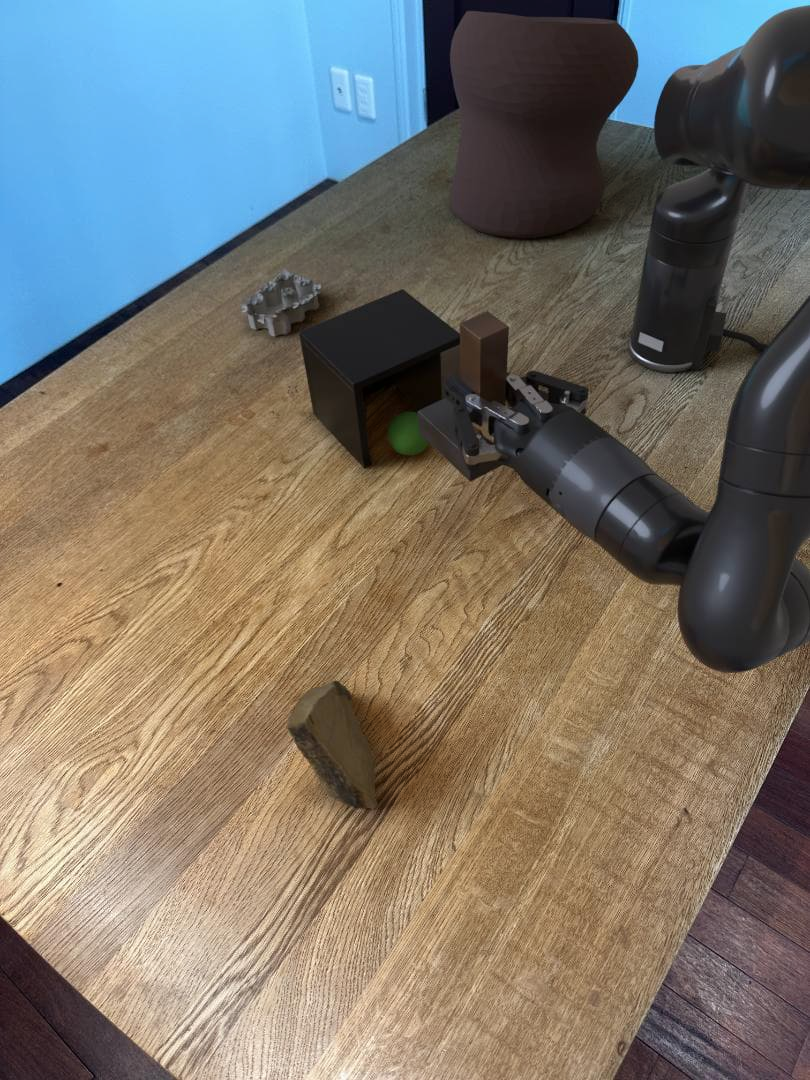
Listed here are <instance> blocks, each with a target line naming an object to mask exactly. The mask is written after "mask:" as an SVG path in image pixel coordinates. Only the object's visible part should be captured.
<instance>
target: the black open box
mask: <svg viewBox="0 0 810 1080" xmlns="http://www.w3.org/2000/svg"><path fill="white" fill-rule="evenodd" d="M298 335H299V340H300V341H299V342H300V347H301V353H302V358H303V363H304V369H305V374H306V380H307V386H308V390H309V397H310V402H311V407H312V412H313V413H312V414H313V415H314V416H315V417H316V418H317V420H318V421H319V423H321V424H322V425H323V427H325V428H326V429H327V431H328V432H330V434H331V435H332V436H333V437H334V438H335V439H336V440H337V441H338V442H339V444H341V446H343V448H344V449H345V450H346V451H347V452H348V453H349V454H350V455H351V456H352V457H353V459H354V460H356V462H358V464H359V465H360V466H361V467H362V468H363V469H367V468H368V467H370V466H372V458H371V451H370V443H369V433H368V425H367V417H366V409H365V400H364V398H366V397H368V396H370V395H372V394H374V393H376V392H379V391H381V390H383V389H385V388H387V387H389V386H392V385H393V386H394V387H395V388H396V389H397V390H398V391H400V392H401V394H403V395H404V396H405V397H406V398H407V399H408V400H409V401H411V403H413V404H414V405H415V407H417V408H418V409H419V410H421V409H423V408H425V407H427V406H429V405H432V404H434V403H436V402H438V401H440V400H442V399H444V398H445V393H444V383H445V376H447V375H449V374H452V373H453V374H455V375H456V376H457V377H458V378H460V332H458V331H457V330H456V329H454V328H453V327H452V326H451V325H450V324H448V323H447V322H446V321H444V319H442V318H440V317H439V316H438V315H437V314H435V313H434V312H433V311H432V310H431V309H429V308H428V307H427V306H425V305H424V304H423V303H422V302H420V301H419V300H418V299H416V298H415V297H413V296H412V295H411V294H410V293H409V292H407V291H406V290H405V289H403V288H401V289H399V290H396V291H394V292H392V293H389V294H387V295H385V296H384V295H383V296H382V297H379V298H376V299H374V300H372V301H370V302H367V303H365V304H362V305H360V306H358V307H355V308H353V309H351V310H348V311H345V312H343V313H341V314H338V315H336V316H333V317H331V318H328V319H326V320H323V321H321V322H318V323H315V324H314V325H311V326H309V327H306V328H304V329H301V330H298Z"/></svg>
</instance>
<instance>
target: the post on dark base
mask: <svg viewBox="0 0 810 1080" xmlns="http://www.w3.org/2000/svg"><path fill="white" fill-rule="evenodd" d="M459 333H460V380H461V381H463V382H464V383H465V384H466V385H467V386H469V387H470V388H471V389H472V390H473V391H475V394H476V395H478V396H480V397H481V398H483V399H485V400H487V401H488V402H492V401H496V402H498V403H500V404H502V405H503V406H505V407H506V403H507V402H506V380H507V372H508V355H509V354H508V353H509V334H510V327H509V325H507V324H506V323H505V322H504V321H502V320H501V319H499V318H498V317H497V316H495V315H494V314H492V313H491V312H489V311H488V310H487V311H485V312H483V313H480V314H478V315H475V316H474V317H471V318H468V319H467V320H464V321H462V322H460V323H459ZM454 407H455V406H454V405H453V404H451V403H450V402H449V401H448V400H447V399H446V398H444V399H442V400H440V401H438V402H436V403H434V404H432V405H429V406H427V407H425V408H423V409H421V410H420V409H419V410H418V411H417V413H418V425H419V434H420V435H421V436H422V437H423V438H424V439H426V440H427V441H428V442H429V444H430V446H431V447H433V449H435V451H437V452H438V453H439V454H440V455H441V456H442V457H443V458H445V459H446V461H448V462H449V463H450V465H452V466H453V467H454V468H455V469H456V470H457V471H458V472H459V473H460V474H461V475H462V476H463V477H465V478H466V480H467V481H469V482H471V483H472V482H473V481H475V480H477V479H478V478H480V477H482V476H484V475H486V474H488V473H490V472H492V471H494V470H497V469H498V468H500V467H501V466H503V465H502V464H500V463H499V462H498V461H497V460H493V461H486V462H480V463H479V468H478V469H477V470H476V471H469V470H467V469H466V468H465V465H464V462H463V459H462V456H461V453H460V450H459V447H458V443H457V440H456V437H455V434H454V430H453V426H454V415H453V408H454ZM479 414H481V413H480V412H479ZM481 415H482V414H481ZM473 427H474V426H473ZM474 430H475V433H476V436H477V435H481V436H482V439H484V440H485V441H486V443H488V444H490V445H494V442H492V441H490V440H489V439H487V438H485V437H484V436H483V434H482V432H481V430H479V429H478V428H476V427H474Z"/></svg>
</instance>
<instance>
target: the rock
mask: <svg viewBox="0 0 810 1080" xmlns="http://www.w3.org/2000/svg"><path fill="white" fill-rule="evenodd" d="M286 730H287V731H288V733H289V735H290V737H291V738H292V740H293V742H294V744H295V746H296V748H297V750H298V751H299V752H300V753H301V754H302V756H303V758H305V759H306V760H307V762H308V764H310V766H311V767H312V768H311V769H312V771H313V773H314V775H315V776H316V778H317V781H318V782H319V784H320V786H321V787H322V789H323V791H324V793H325V794H326V795H327V796H329V797H330V798H332V799H333V800H337V801H339V802H340V803H343V804H346V805H348V806H350V807H352V808H359V809H370V810H375V809H376V808H377V807H378V800H377V799H376V783H375V781H376V767H377V765H376V763H375V758H374V756H373V752H372V747H371V746H370V744H369V742H368V739H367V737H366V736H365V735H364V733H363V730H362V725H361V724H360V722H359V720H358V718H357V717H356V715H355V714H354V698H353V695H352V693H351V691H350V690H348V688H347V687H346V686H345V685H342V684H341V682H339V681H338V680H332V681H329V682H328V683H326V684H324V685H322V686H317V687H311V688H310V689H308V690H307V691H306V693H303V695H302V696H300V697H299V698H297V704H296V705H295V706H294V707H293V709H292V711H291V712H290V714H289V716H288V717H287V720H286Z"/></svg>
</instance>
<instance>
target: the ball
mask: <svg viewBox="0 0 810 1080" xmlns="http://www.w3.org/2000/svg"><path fill="white" fill-rule="evenodd" d="M386 431H387V432H386V434H387V435H386V436H387V440H388V443H389V445H390V446H391V448H392V449H393V450H394V451H395V452H396V453H398V454H401V455H403V456H416V455H418V454H420V453H422V452H423V451H424V450H425V449H426V448H427V447H428V445H429V444H430V443H429V442H428V441H427V440H426V439H424V438H423V437H422V436H421V435H420V434H419V425H418V412H415V411H409V410H407V411H402V412H400V413H398V414H396V415H395V416H394V417H392V419H391V420H390V422H389V424H388V426H387V430H386Z"/></svg>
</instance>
